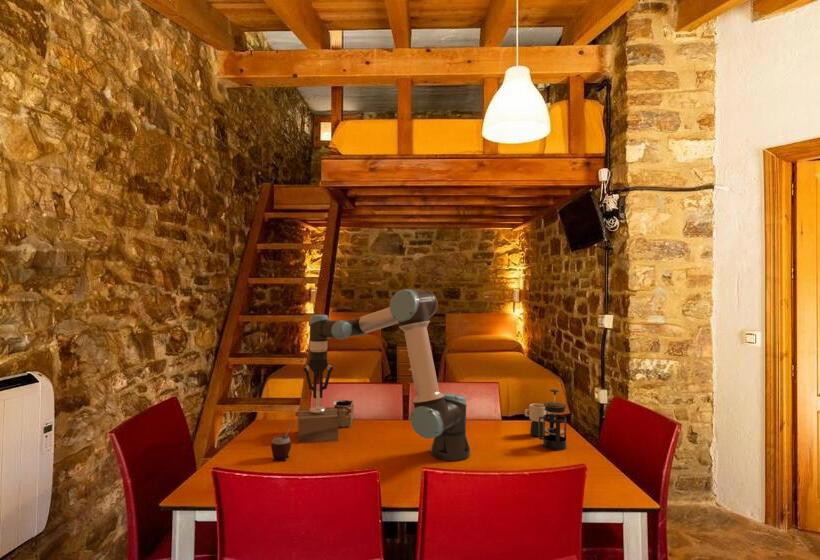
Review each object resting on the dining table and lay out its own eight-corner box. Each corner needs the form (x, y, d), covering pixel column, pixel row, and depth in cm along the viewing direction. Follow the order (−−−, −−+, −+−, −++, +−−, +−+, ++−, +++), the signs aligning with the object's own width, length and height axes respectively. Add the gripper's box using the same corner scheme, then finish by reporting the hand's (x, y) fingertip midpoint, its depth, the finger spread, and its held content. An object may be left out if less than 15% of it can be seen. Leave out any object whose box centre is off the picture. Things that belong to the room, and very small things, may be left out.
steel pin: (325, 436, 204) (325, 409, 204) (309, 437, 202) (310, 410, 202) (324, 432, 210) (324, 405, 210) (309, 433, 208) (309, 406, 209)
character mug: (549, 433, 213) (549, 404, 213) (551, 438, 206) (551, 408, 206) (524, 431, 215) (524, 402, 215) (525, 436, 208) (525, 406, 208)
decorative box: (322, 428, 218) (322, 406, 218) (331, 416, 238) (331, 396, 238) (351, 428, 218) (351, 407, 218) (358, 416, 237) (358, 397, 238)
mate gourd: (267, 459, 178) (268, 418, 179) (286, 453, 184) (287, 414, 184) (277, 464, 173) (278, 422, 173) (296, 459, 179) (297, 418, 179)
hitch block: (337, 440, 200) (338, 416, 200) (298, 443, 196) (298, 418, 197) (334, 429, 216) (335, 407, 216) (298, 431, 212) (298, 409, 212)
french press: (564, 442, 200) (564, 387, 201) (571, 450, 191) (571, 392, 191) (536, 442, 201) (536, 387, 201) (541, 450, 191) (542, 392, 192)
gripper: (333, 349, 212) (332, 402, 212) (302, 349, 209) (302, 404, 209) (334, 351, 205) (333, 407, 204) (303, 352, 202) (302, 408, 201)
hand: (317, 405), depth 206 cm, fingers closed
